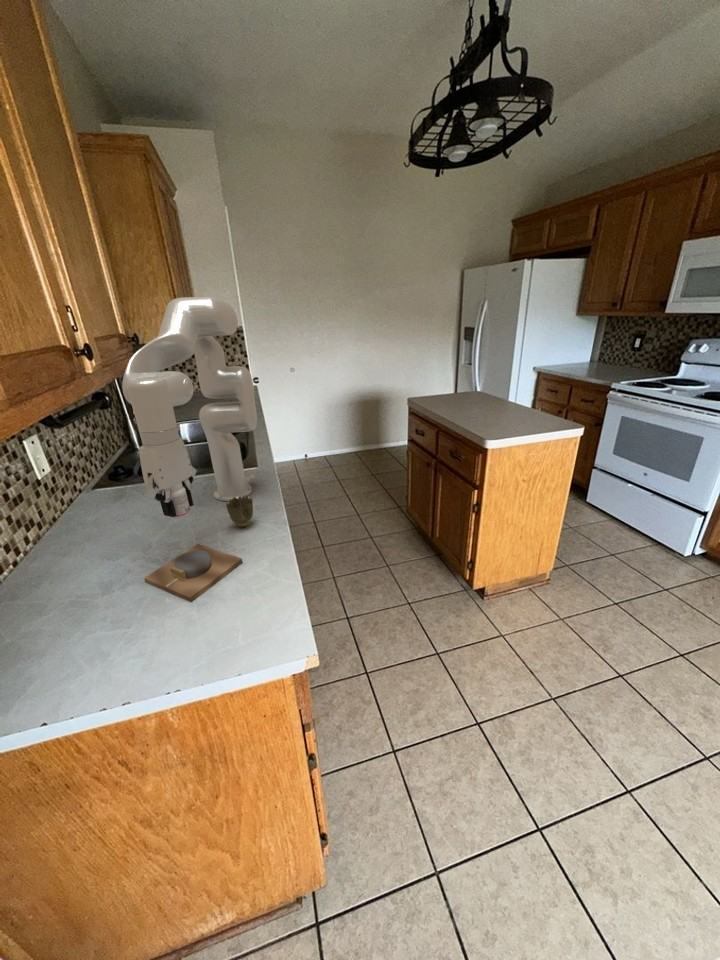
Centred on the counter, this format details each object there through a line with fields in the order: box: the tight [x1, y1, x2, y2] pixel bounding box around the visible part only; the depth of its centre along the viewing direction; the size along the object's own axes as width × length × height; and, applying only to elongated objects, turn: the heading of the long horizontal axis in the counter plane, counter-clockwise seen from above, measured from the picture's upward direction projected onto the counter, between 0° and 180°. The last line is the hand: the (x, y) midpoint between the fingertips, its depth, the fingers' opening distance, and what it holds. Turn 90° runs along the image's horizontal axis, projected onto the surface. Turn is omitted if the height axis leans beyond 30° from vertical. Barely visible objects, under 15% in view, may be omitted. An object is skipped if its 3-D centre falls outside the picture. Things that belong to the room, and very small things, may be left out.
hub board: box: [143, 543, 244, 603], centre depth 96 cm, size 16×16×4 cm
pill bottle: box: [162, 482, 191, 519], centre depth 91 cm, size 5×5×8 cm
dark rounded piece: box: [225, 496, 254, 529], centre depth 115 cm, size 8×7×8 cm
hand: (179, 509), depth 93 cm, fingers closed on pill bottle, 4 cm apart
